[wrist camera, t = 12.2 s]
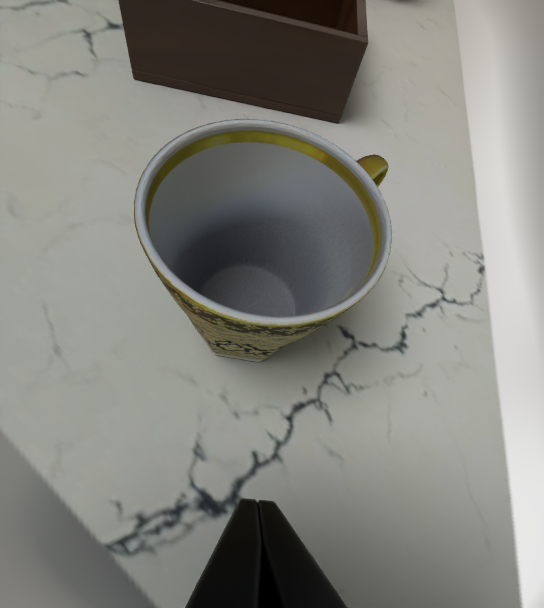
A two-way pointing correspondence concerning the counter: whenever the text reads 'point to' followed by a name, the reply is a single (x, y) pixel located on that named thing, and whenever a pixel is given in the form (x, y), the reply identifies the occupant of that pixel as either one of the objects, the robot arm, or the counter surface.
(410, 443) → the counter surface
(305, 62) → the crate
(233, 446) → the counter surface
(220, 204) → the ceramic cup
